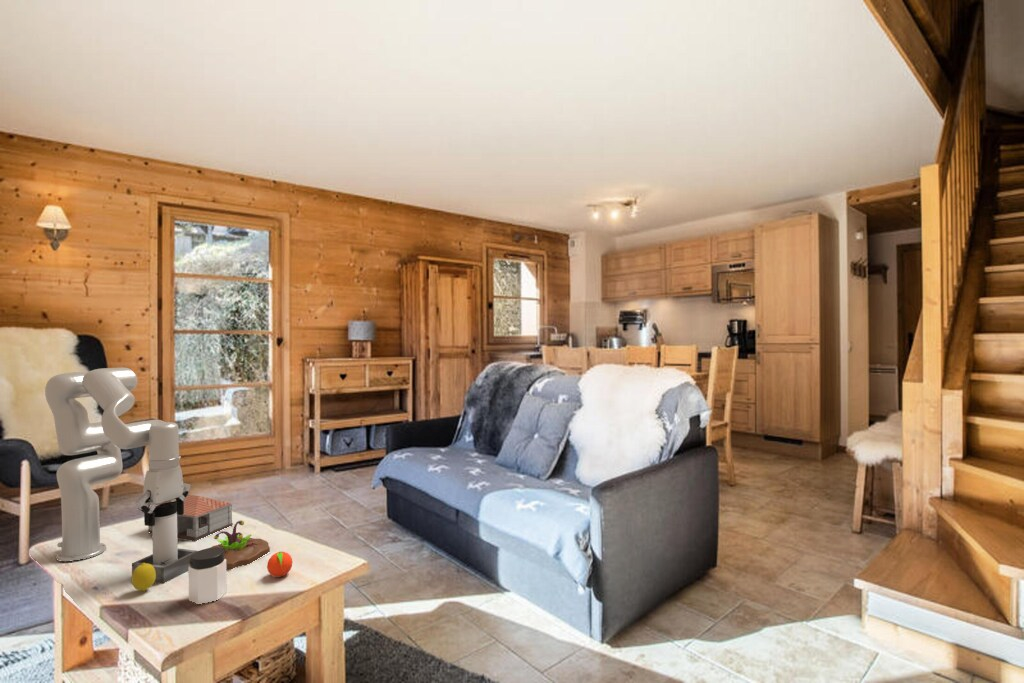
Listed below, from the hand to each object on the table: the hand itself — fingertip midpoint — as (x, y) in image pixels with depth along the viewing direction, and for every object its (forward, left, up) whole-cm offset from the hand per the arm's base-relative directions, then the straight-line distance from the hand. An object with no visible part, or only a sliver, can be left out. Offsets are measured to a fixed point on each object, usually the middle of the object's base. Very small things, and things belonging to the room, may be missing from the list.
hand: (164, 519), depth 157 cm
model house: (-22, +29, -16) cm, 40 cm away
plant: (+12, +15, -17) cm, 25 cm away
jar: (+25, -9, -16) cm, 31 cm away
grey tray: (0, 0, -16) cm, 16 cm away
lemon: (+5, -11, -16) cm, 20 cm away
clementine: (+36, +6, -16) cm, 40 cm away
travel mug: (0, 0, -15) cm, 15 cm away
